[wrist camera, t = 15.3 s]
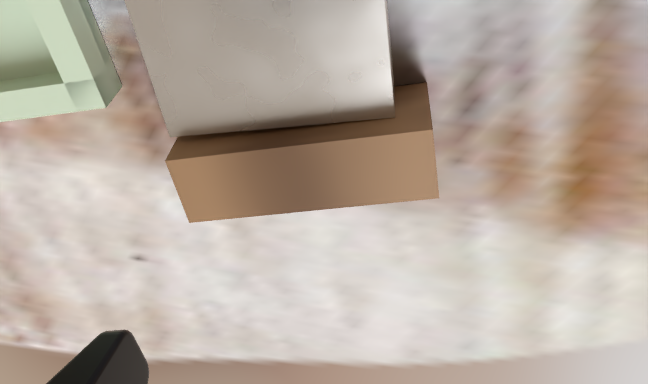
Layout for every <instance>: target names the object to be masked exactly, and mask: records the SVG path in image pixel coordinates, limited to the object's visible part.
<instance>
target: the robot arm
mask: <svg viewBox="0 0 648 384" xmlns="http://www.w3.org/2000/svg"><path fill="white" fill-rule="evenodd" d="M148 378H149V368H148V364H147V361H146V359H145V357H144V355H143V353H142V351H141V349H140V348H139V346H138V344H137V342H136V340H135V338H134V336H133V335H132V333H131V332H129V331H128V330H114V331H105V332H103V333H101V334H100V335H98V336H97V337H96V338H95V339H94V340H93V341H92V342H91V343H90V344H89V345H87V346H86V347H85V348H84V349H83V350H82V351H81V352H80V353H79V354H78V355H77V356H76V357H75V358H73V359H72V360H71V361H70V362H69V363H68V364H67V365H66V366H65V367H64V368H63V369H62V370H60V371H59V372H58V373H57V374H56V375H55V376H54V377H53V378H52V379H51V380H50V381H49V382H47V383H46V384H148Z"/></svg>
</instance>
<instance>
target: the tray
mask: <svg viewBox="0 0 648 384" xmlns="http://www.w3.org/2000/svg"><path fill="white" fill-rule="evenodd" d="M121 88H122V84H121V82H120V79H119V77H118V74H117V72H116V70H115V67H114V65H113V62H112V60H111V57H110V55H109V52H108V50H107V47H106V45H105V43H104V40H103V38H102V35H101V33H100V30H99V28H98V25H97V23H96V20H95V18H94V16H93V13H92V11H91V8H90V6H89V3H88V1H87V0H0V122H5V121H12V120H20V119H27V118H34V117H42V116H49V115H56V114H64V113H71V112H79V111H86V110H93V109H101V108H106V107H107V106H108V105H109V103H110V102H111V101H112V99H113V98H114V97H115V95H116V94H117V93H118V92H119V90H120V89H121Z"/></svg>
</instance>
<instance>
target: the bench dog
mask: <svg viewBox="0 0 648 384" xmlns="http://www.w3.org/2000/svg"><path fill="white" fill-rule="evenodd" d="M394 93H395V118H384V119H372V120H361V121H350V122H338V123H327V124H315V125H304V126H292V127H281V128H270V129H258V130H247V131H235V132H224V133H212V134H201V135H189V136H178V138H177V140H176V142H175V143H174V145H173V147H172V149H171V151H170V153H169V155H168V157H167V159H166V160H165V162H166V164H167V167H168V169H169V172H170V175H171V177H172V180H173V182H174V185H175V187H176V190H177V192H178V195H179V197H180V200H181V203H182V205H183V208H184V210H185V213H186V215H187V218H188V220H189V223H191V222H201V221H212V220H222V219H232V218H242V217H252V216H262V215H273V214H283V213H293V212H303V211H313V210H323V209H333V208H344V207H354V206H364V205H374V204H384V203H394V202H404V201H415V200H425V199H435V198H439V191H438V181H437V170H436V160H435V149H434V138H433V128H432V120H431V112H430V104H429V96H428V88H427V82H425V83H418V84H410V85H402V86H395V87H394Z"/></svg>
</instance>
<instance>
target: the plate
mask: <svg viewBox="0 0 648 384" xmlns="http://www.w3.org/2000/svg"><path fill="white" fill-rule="evenodd" d="M124 1H125V4H126V7H127V10H128V13H129V16H130V19H131V22H132V25H133V28H134V31H135V34H136V37H137V40H138V43H139V46H140V49H141V52H142V55H143V58H144V61H145V64H146V67H147V70H148V73H149V76H150V79H151V82H152V85H153V88H154V91H155V94H156V97H157V100H158V103H159V106H160V109H161V112H162V115H163V118H164V121H165V124H166V127H167V130H168V133H169V136H170V137H178V136H189V135H201V134H212V133H224V132H235V131H247V130H258V129H270V128H281V127H292V126H304V125H315V124H327V123H338V122H350V121H361V120H372V119H384V118H395V93H394V76H393V65H392V53H391V42H390V30H389V19H388V7H387V0H124Z"/></svg>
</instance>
